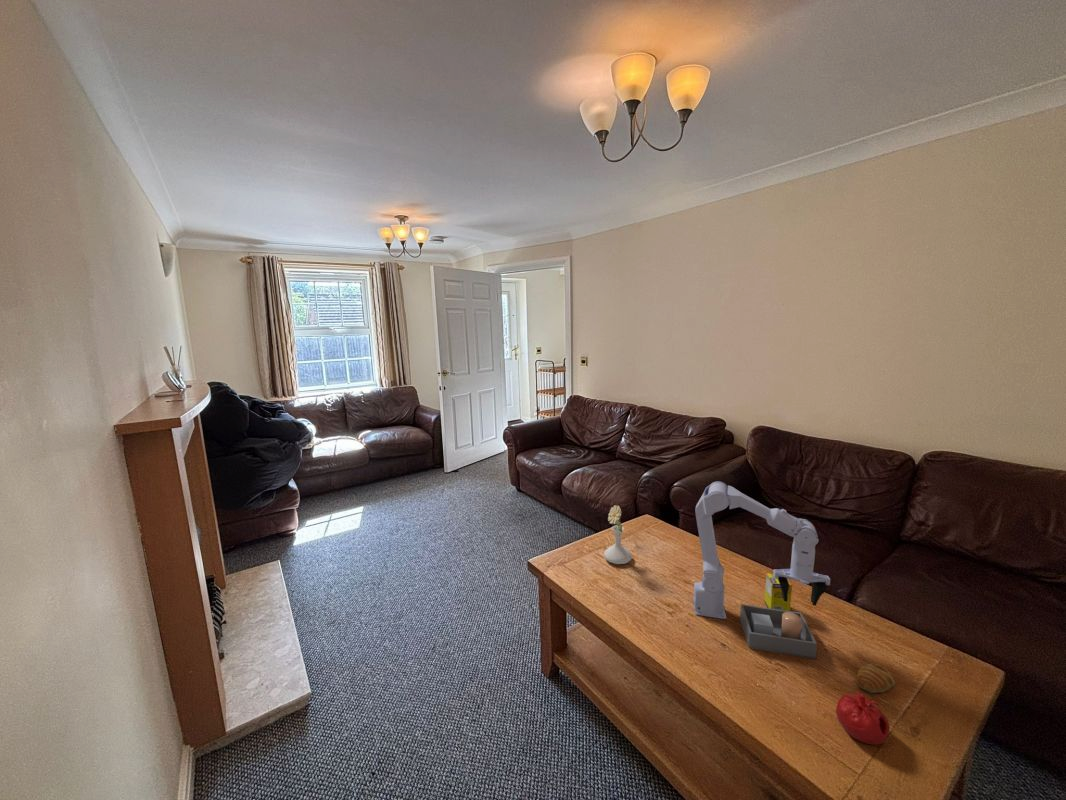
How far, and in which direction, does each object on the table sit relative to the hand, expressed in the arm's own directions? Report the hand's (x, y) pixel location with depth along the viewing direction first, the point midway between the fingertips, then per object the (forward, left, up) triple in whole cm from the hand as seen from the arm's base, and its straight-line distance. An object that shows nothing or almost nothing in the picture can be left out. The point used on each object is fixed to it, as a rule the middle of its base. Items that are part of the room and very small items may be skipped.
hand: (798, 601), depth 126 cm
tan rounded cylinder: (-3, -5, -10) cm, 11 cm away
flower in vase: (-57, +27, -10) cm, 64 cm away
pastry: (+14, -16, -11) cm, 24 cm away
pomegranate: (+4, -32, -11) cm, 34 cm away
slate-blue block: (-11, -5, -10) cm, 15 cm away
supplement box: (-3, +10, -10) cm, 15 cm away
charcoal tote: (-7, -4, -10) cm, 13 cm away
